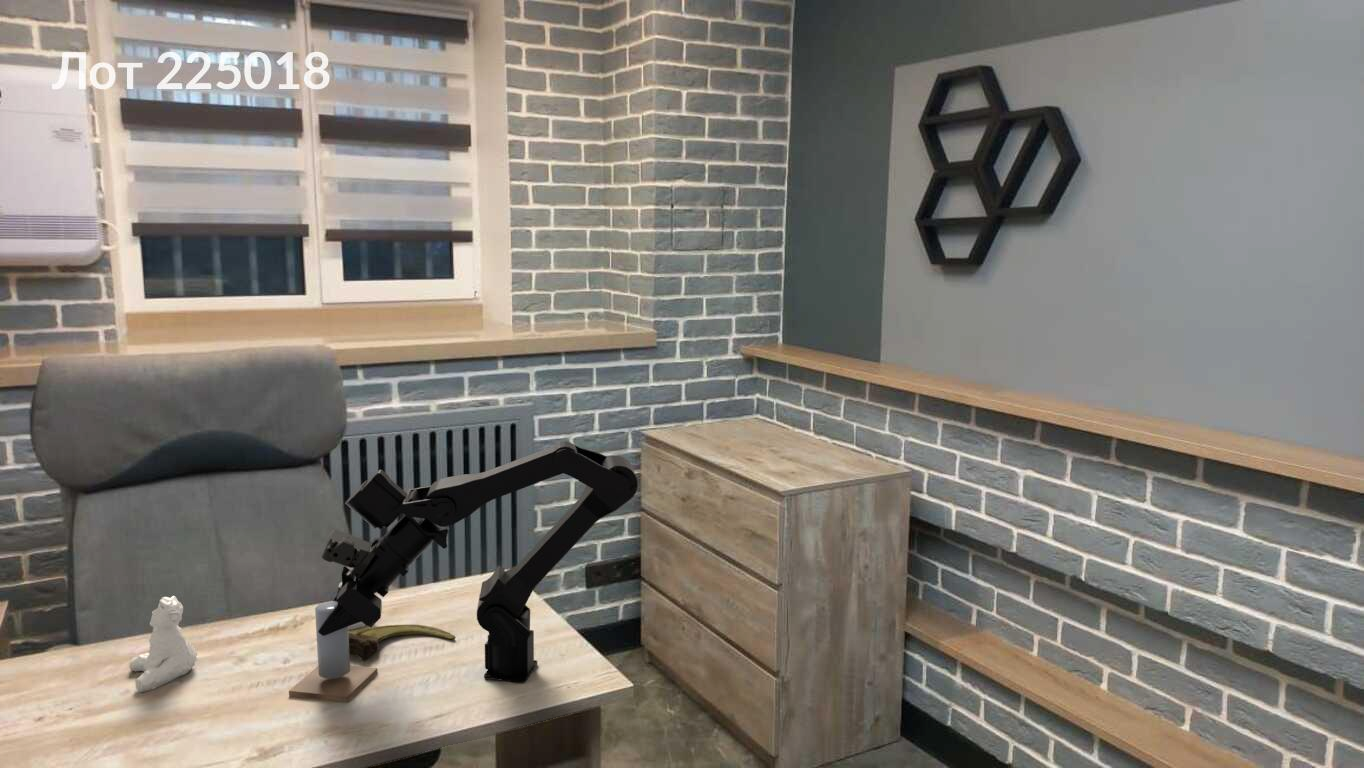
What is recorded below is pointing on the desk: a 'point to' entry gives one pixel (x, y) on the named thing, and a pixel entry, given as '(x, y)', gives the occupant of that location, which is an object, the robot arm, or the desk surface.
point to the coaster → (333, 684)
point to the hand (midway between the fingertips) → (322, 626)
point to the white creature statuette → (164, 648)
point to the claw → (368, 638)
